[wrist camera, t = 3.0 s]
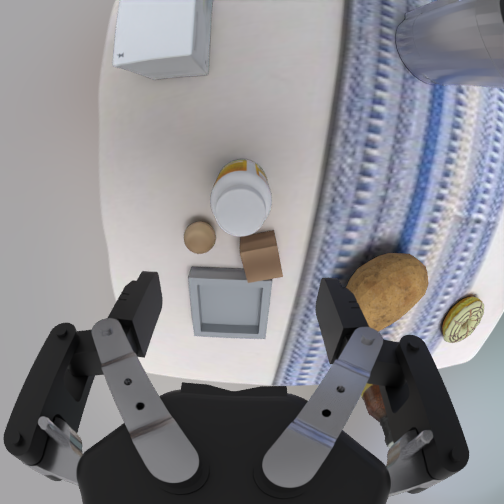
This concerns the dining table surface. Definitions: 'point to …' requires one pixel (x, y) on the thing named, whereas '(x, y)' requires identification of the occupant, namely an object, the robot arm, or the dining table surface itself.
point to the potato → (388, 287)
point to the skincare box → (163, 37)
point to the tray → (228, 303)
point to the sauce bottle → (377, 409)
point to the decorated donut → (462, 319)
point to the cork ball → (199, 237)
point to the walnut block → (260, 256)
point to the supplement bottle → (241, 198)
